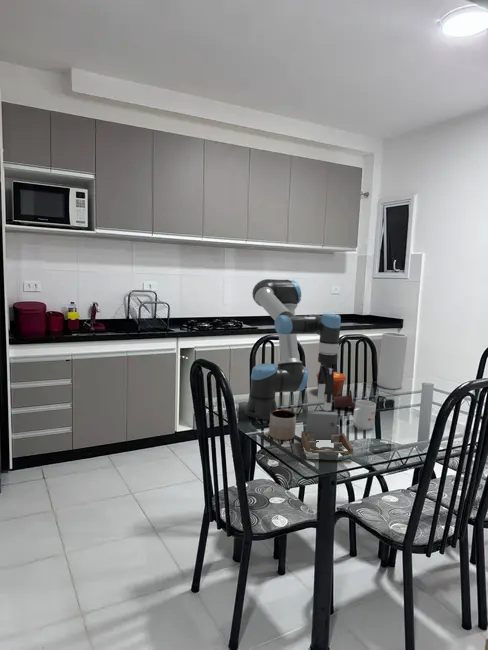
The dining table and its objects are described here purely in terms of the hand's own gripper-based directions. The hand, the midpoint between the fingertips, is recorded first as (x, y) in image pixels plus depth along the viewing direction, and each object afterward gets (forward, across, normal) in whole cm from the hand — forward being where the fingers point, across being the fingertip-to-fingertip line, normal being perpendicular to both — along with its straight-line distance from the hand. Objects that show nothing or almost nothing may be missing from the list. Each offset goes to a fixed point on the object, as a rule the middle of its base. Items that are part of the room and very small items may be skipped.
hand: (323, 404), depth 185 cm
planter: (+16, +4, +16) cm, 22 cm away
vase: (+15, +86, -57) cm, 104 cm away
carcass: (+16, -10, 0) cm, 19 cm away
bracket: (+16, +41, -23) cm, 50 cm away
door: (+16, 0, 0) cm, 16 cm away
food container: (+15, +66, -17) cm, 70 cm away
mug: (+16, +17, -21) cm, 31 cm away
